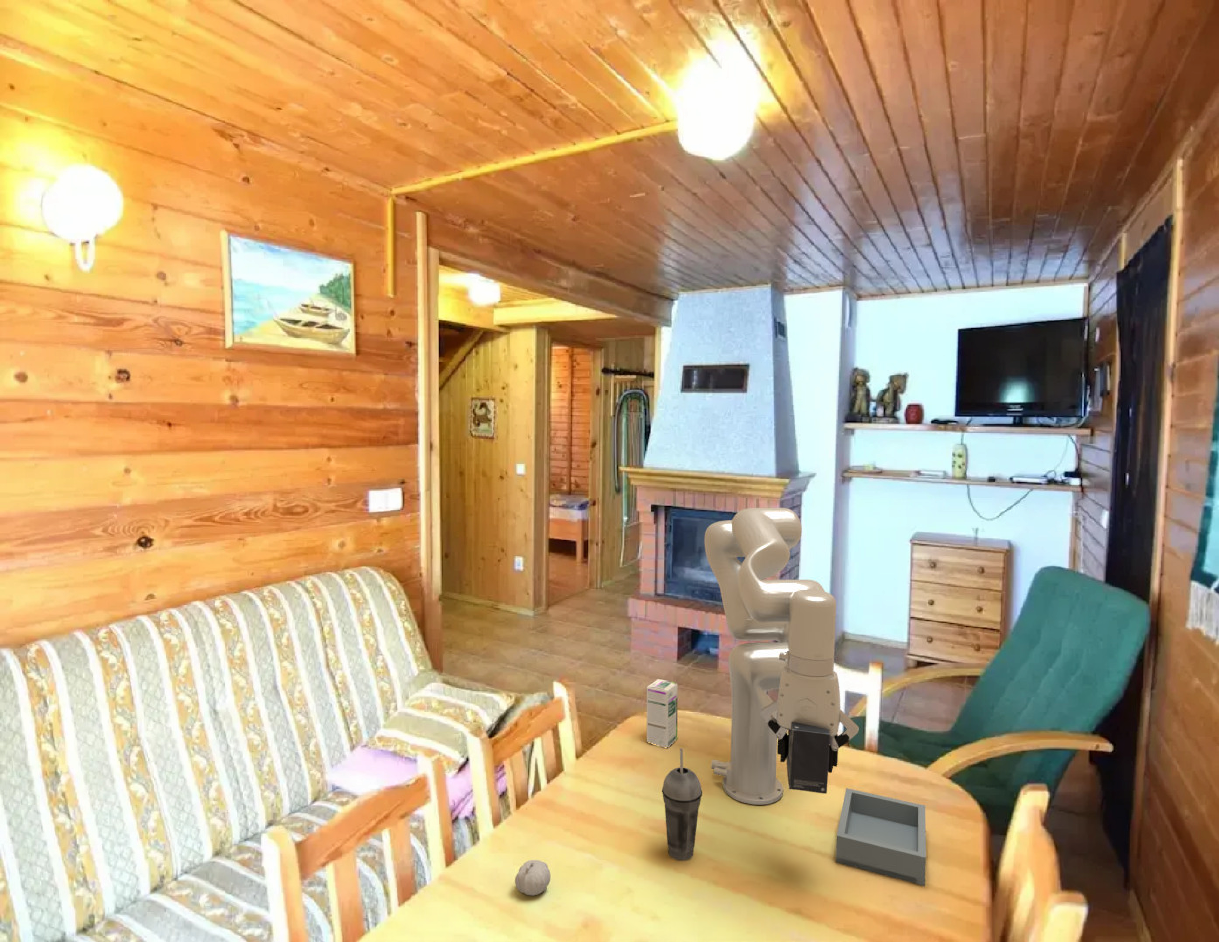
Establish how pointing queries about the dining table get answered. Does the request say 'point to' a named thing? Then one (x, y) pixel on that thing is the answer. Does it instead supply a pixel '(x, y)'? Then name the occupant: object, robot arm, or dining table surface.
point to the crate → (882, 836)
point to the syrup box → (662, 712)
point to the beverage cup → (681, 810)
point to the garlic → (533, 877)
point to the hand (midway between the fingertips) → (806, 763)
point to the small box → (808, 758)
